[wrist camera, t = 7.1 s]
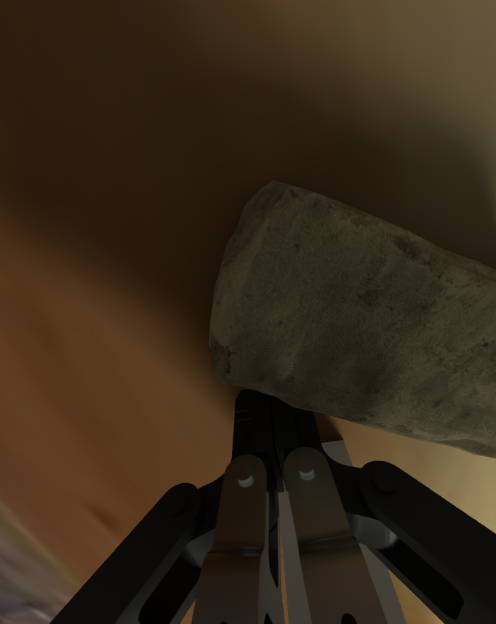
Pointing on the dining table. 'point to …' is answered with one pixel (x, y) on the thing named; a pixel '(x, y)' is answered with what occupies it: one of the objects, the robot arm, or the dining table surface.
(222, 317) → the stone block
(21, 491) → the dining table surface
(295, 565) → the door frame
